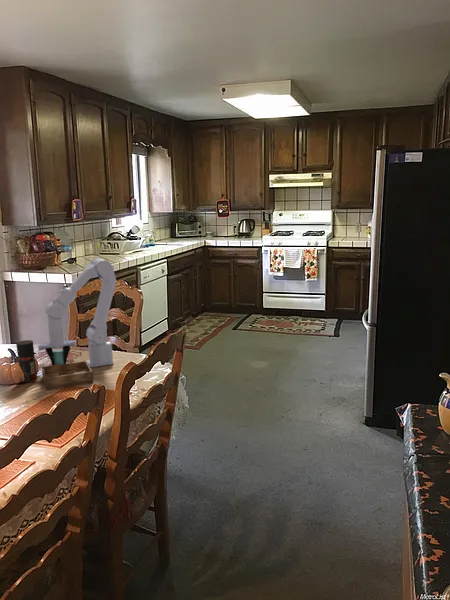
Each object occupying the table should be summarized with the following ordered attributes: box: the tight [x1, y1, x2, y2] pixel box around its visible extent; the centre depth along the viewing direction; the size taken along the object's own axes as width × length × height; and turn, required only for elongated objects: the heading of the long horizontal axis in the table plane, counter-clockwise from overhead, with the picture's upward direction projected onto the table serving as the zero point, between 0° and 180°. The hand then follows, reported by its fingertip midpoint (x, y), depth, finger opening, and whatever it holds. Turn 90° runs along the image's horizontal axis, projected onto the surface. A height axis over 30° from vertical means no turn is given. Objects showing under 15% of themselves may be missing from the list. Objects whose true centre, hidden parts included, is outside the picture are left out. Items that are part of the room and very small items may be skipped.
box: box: [41, 360, 94, 391], centre depth 201 cm, size 17×14×4 cm
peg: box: [53, 349, 64, 365], centre depth 212 cm, size 4×4×8 cm
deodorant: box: [16, 339, 38, 384], centre depth 201 cm, size 6×6×15 cm
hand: (59, 364), depth 212 cm, fingers closed on peg, 4 cm apart
